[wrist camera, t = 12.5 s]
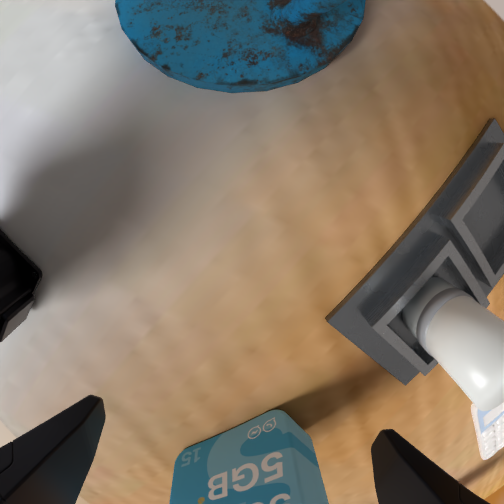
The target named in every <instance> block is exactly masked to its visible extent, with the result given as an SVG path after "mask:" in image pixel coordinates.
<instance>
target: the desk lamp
mask: <svg viewBox="0 0 504 504" xmlns="http://www.w3.org/2000/svg"><path fill="white" fill-rule="evenodd" d="M115 7H116V10H117V14H118V17H119V21H120V24H121V27H122V30H123V31H124V32H125V34H126V35H127V37H128V38H129V39H130V41H131V42H132V43H133V45H134V46H135V47H136V49H137V50H138V51H139V53H140V54H141V55H142V57H143V58H144V59H145V60H146V61H147V62H149V63H150V64H152V65H153V66H154V67H156V68H157V69H159V70H160V71H161V72H163V73H164V74H165V75H167V76H169V77H171V78H174V79H176V80H179V81H182V82H184V83H187V84H189V85H192V86H194V87H197V88H203V89H210V90H216V91H223V92H229V93H238V92H256V91H268V90H272V89H275V88H279V87H282V86H286V85H290V84H294V83H298V82H300V81H302V80H303V79H305V78H307V77H309V76H311V75H312V74H314V73H316V72H318V71H320V70H322V69H324V68H325V67H326V66H327V65H328V64H329V63H330V62H331V61H332V60H333V59H334V58H335V57H336V56H337V55H338V54H340V53H341V52H342V51H343V50H344V49H345V47H346V46H347V45H348V44H349V43H350V42H351V41H352V39H353V37H354V35H355V33H356V31H357V29H358V28H359V26H360V24H361V22H362V20H363V17H364V9H365V0H116V1H115Z"/></svg>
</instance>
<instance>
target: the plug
mask: <svg viewBox="0 0 504 504" xmlns="http://www.w3.org/2000/svg"><path fill="white" fill-rule="evenodd" d="M403 322H404V324H405V326H406V327H407V329H408V330H409V331H410V332H411V333H412V334H413V335H414V336H415V337H416V338H417V340H418V342H419V343H420V345H421V346H422V347H423V348H424V349H425V350H426V352H427V353H428V354H429V355H431V356H432V357H434V358H435V359H436V360H437V362H438V363H439V364H440V365H441V366H442V367H443V368H444V369H445V371H446V372H447V373H448V374H449V375H450V376H451V377H452V379H453V380H454V381H455V382H456V383H457V384H458V385H459V387H460V388H461V389H462V390H463V391H464V392H465V394H466V395H467V396H468V397H469V398H470V400H471V401H472V402H473V403H474V404H475V405H476V407H477V408H478V409H479V410H481V411H489V410H492V409H494V408H496V407H498V406H499V405H501V404H502V403H503V402H504V321H503V320H501V319H500V318H499V317H497V316H496V315H495V314H493V313H492V312H490V311H489V310H488V309H486V308H485V307H483V306H482V305H481V304H479V303H478V302H476V301H475V299H474V298H473V297H472V296H470V295H469V294H467V293H466V292H464V291H463V290H461V289H459V288H456V287H454V286H453V285H451V284H450V283H448V282H447V281H445V280H444V279H442V278H439V277H432V278H429V280H428V281H427V282H426V283H425V284H424V285H423V286H422V288H421V289H420V290H419V291H418V292H417V293H416V294H415V296H414V297H413V298H412V299H411V300H410V301H409V302H408V303H407V304H406V305H405V307H404V308H403Z"/></svg>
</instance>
